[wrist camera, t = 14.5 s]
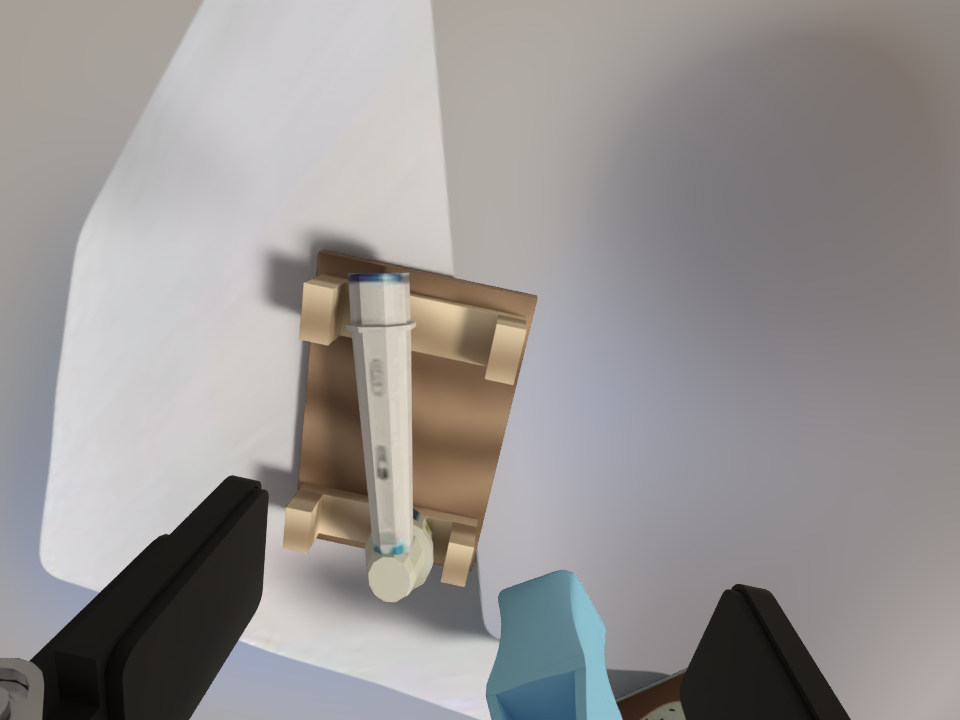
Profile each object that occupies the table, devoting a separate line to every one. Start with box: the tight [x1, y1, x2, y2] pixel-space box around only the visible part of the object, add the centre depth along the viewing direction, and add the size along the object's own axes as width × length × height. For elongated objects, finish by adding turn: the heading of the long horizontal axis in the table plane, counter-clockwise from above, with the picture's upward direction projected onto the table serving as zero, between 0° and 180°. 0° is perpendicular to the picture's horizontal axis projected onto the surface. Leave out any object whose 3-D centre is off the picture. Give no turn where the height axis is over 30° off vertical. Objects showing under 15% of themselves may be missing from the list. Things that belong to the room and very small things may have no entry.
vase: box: [486, 570, 623, 720], centre depth 37 cm, size 8×8×20 cm
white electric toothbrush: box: [345, 272, 434, 602], centre depth 37 cm, size 5×7×25 cm
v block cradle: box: [283, 250, 537, 587], centre depth 39 cm, size 25×16×4 cm, turn 169°
